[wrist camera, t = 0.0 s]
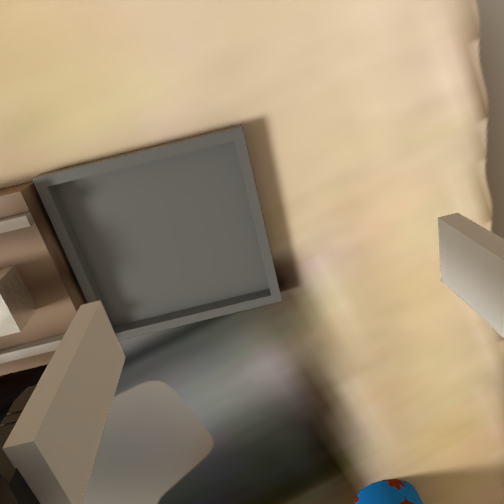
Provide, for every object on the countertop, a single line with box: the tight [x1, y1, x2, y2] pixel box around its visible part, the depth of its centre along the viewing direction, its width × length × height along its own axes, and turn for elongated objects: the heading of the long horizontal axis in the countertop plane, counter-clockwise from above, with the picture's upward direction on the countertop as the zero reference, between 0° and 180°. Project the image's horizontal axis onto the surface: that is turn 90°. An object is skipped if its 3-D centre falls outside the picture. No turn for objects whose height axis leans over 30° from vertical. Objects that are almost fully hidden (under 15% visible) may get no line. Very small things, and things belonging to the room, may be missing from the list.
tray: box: [32, 125, 282, 341], centre depth 44 cm, size 19×20×2 cm
